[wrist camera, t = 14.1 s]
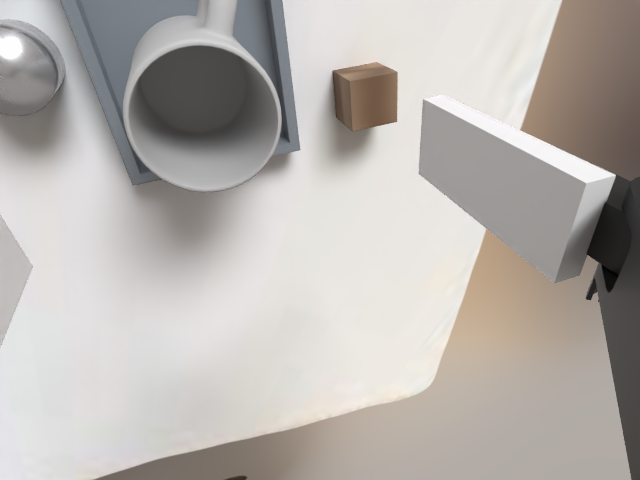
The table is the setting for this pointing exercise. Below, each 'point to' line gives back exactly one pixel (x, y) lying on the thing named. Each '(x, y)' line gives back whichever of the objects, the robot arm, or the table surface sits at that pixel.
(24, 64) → the chrome bearing sphere
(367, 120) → the walnut block
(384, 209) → the table surface
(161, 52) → the mug
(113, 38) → the tray
